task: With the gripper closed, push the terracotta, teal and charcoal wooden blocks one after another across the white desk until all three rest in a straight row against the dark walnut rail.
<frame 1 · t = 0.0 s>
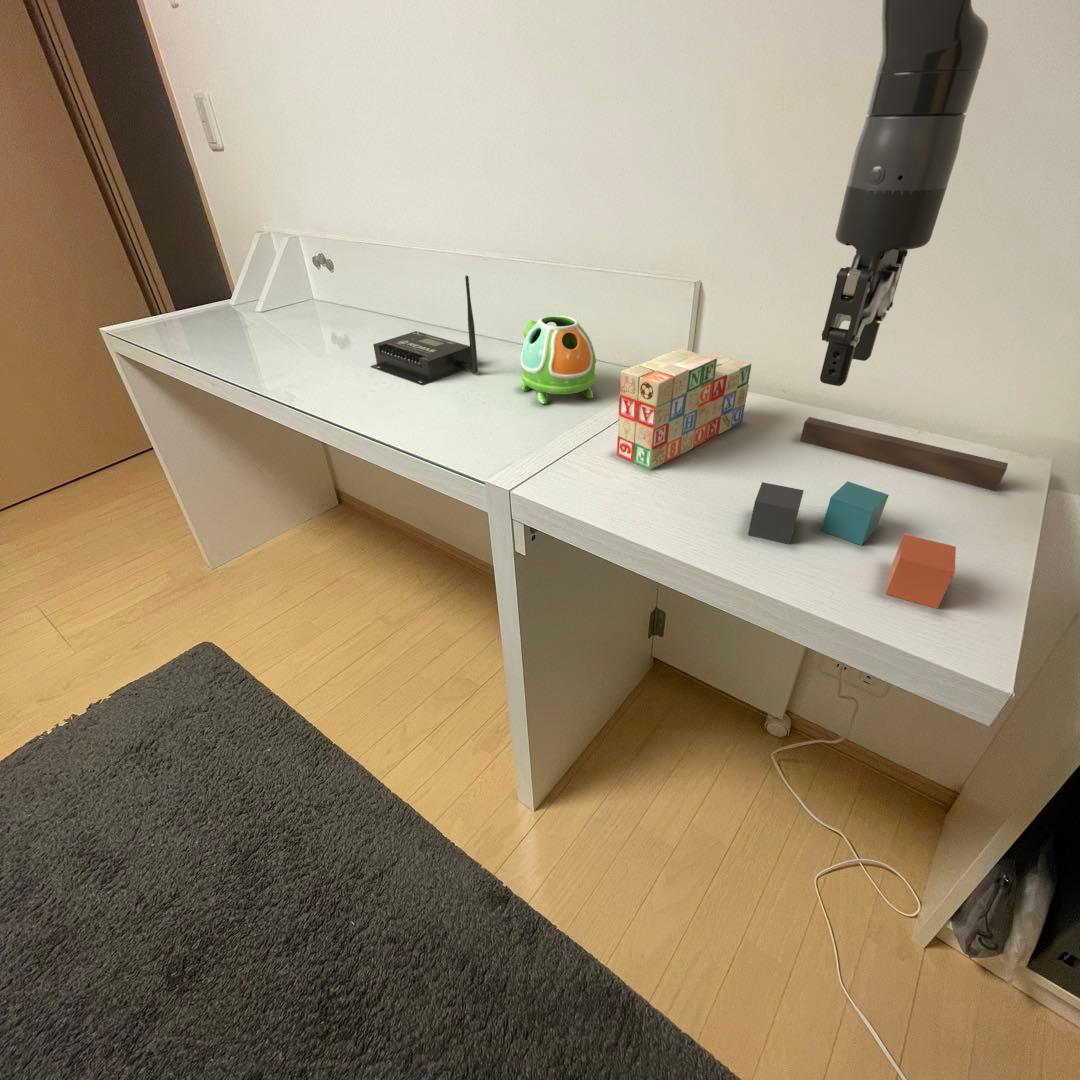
hand: (845, 370, 60), 18 cm above the table, tool pointing down, fingers open, 8 cm apart
block charcoal: (771, 529, 69), on the table
turtle holder: (554, 389, 106), on the table
stack of blocks: (681, 440, 89), on the table
block teal: (848, 529, 69), on the table
wireless controller: (431, 368, 116), on the table
block terracotta: (912, 588, 60), on the table
rail: (892, 461, 82), on the table
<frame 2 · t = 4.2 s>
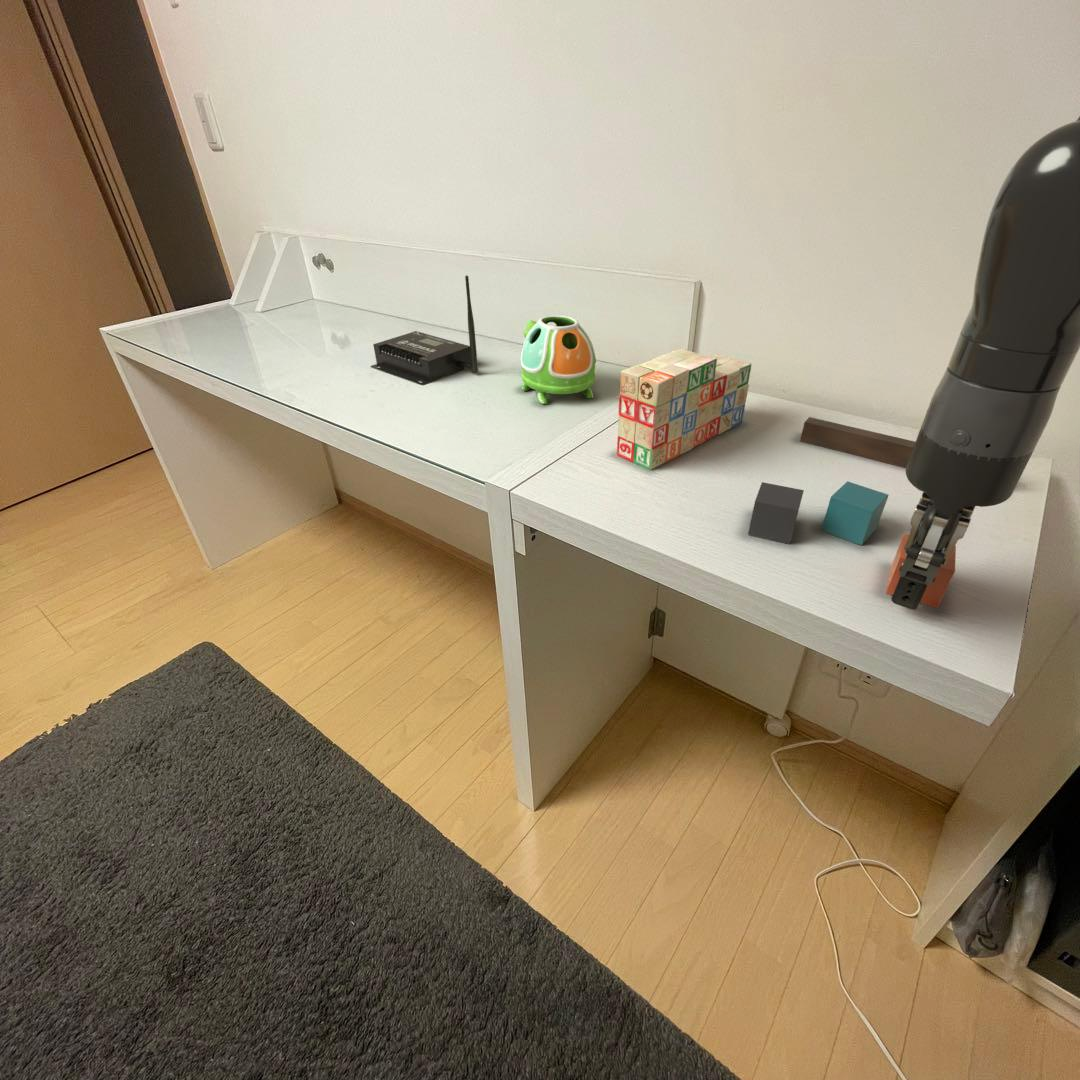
hand: (904, 601, 57), 1 cm above the table, tool pointing down, fingers closed
block terracotta: (912, 587, 61), on the table, touching gripper
everything else where it was.
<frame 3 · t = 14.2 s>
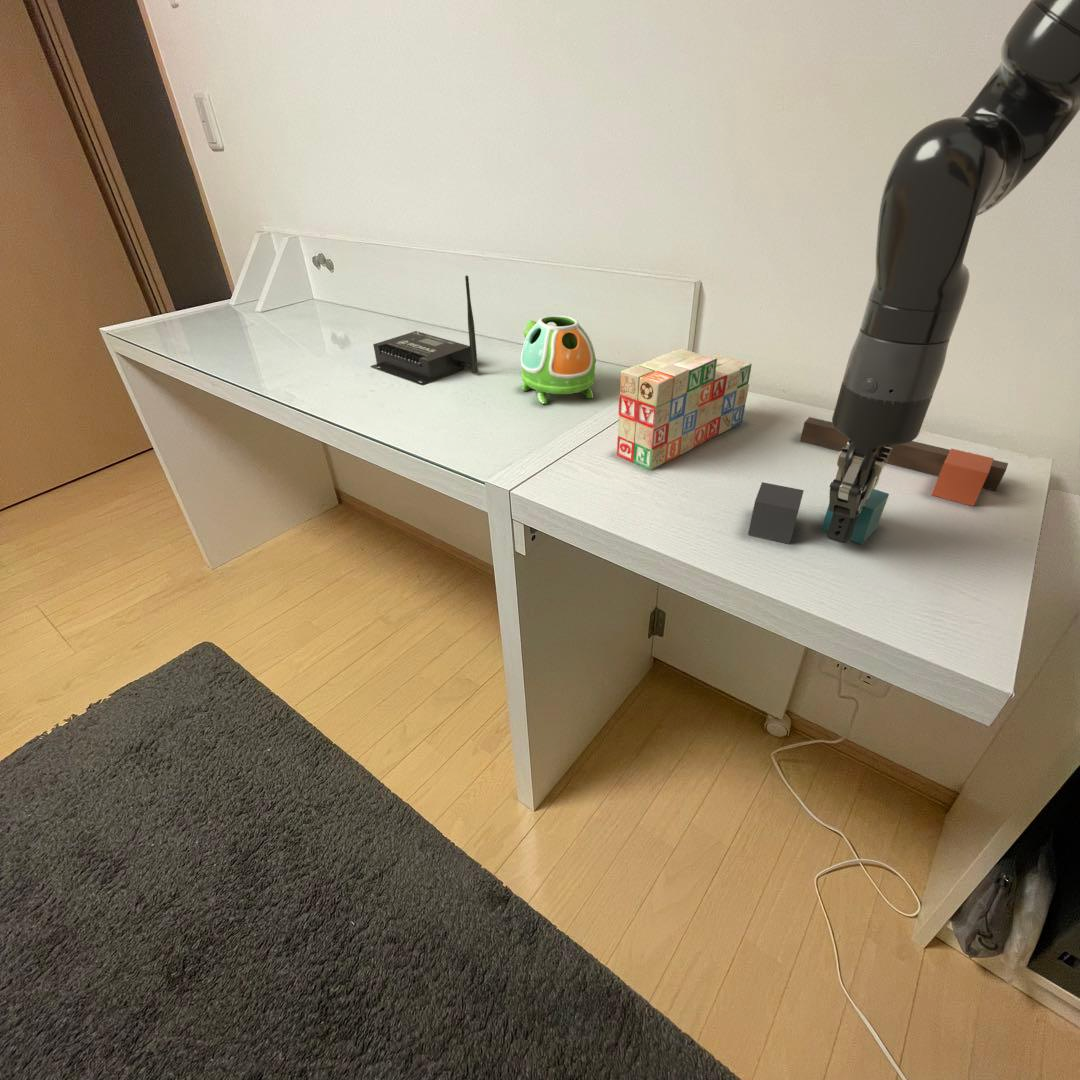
hand: (838, 538, 65), 1 cm above the table, tool pointing down, fingers closed
block teal: (849, 528, 69), on the table, touching gripper
block terracotta: (955, 492, 75), on the table
everything else where it was.
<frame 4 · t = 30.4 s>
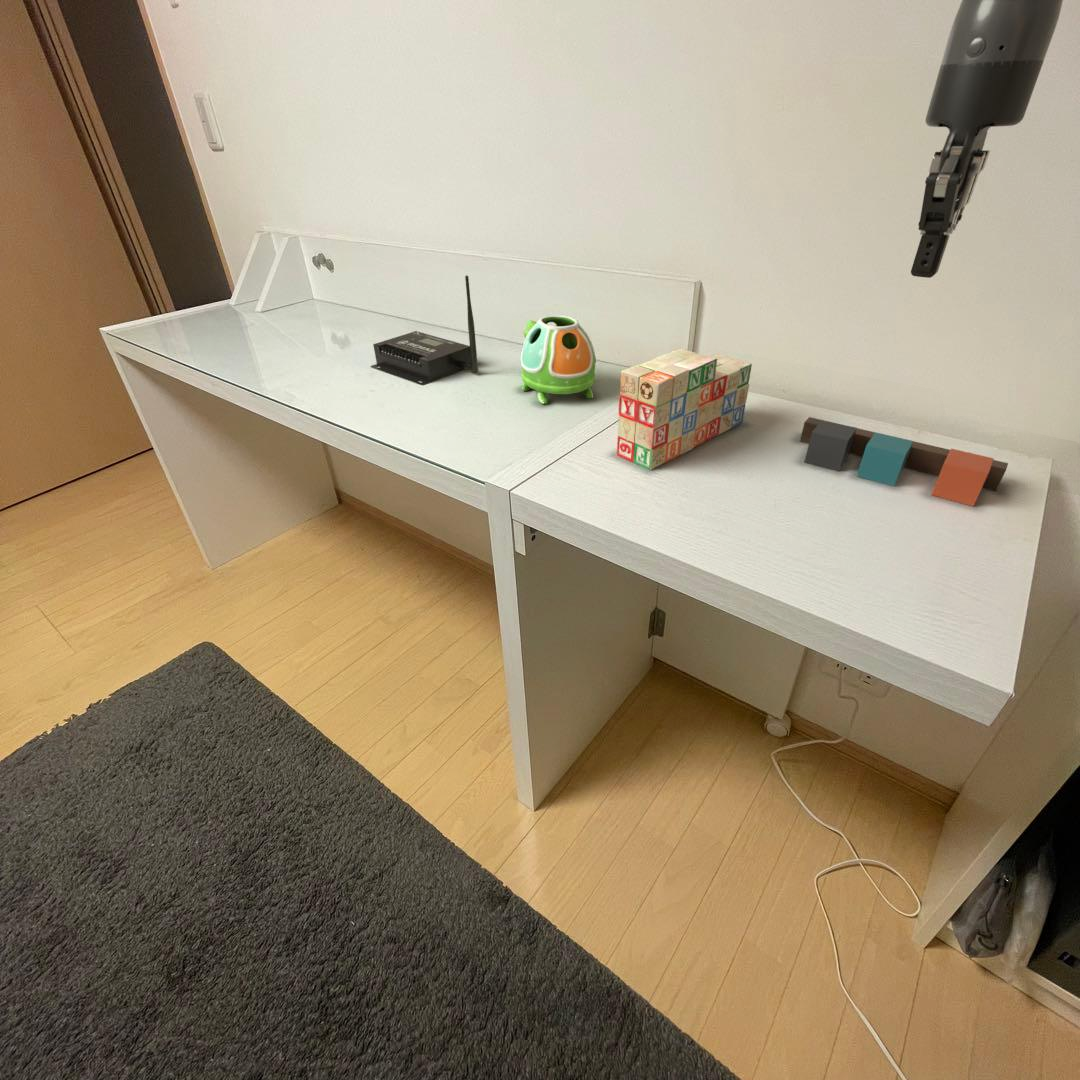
hand: (923, 275, 62), 25 cm above the table, tool pointing down, fingers closed
block charcoal: (826, 460, 82), on the table
block teal: (879, 474, 79), on the table
everything else where it was.
at the end: block terracotta 0.7 cm from the target spot on the table beside the rail, on the table; block teal 1.2 cm from the target spot on the table beside the rail, on the table; block charcoal 1.2 cm from the target spot on the table beside the rail, on the table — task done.
